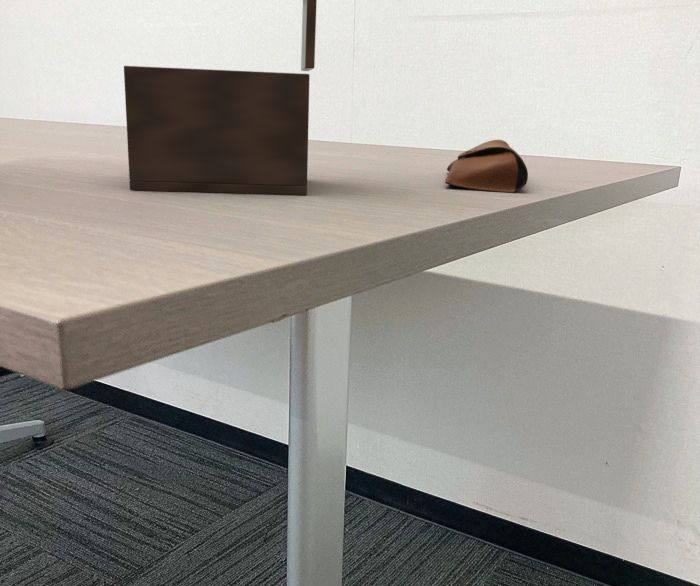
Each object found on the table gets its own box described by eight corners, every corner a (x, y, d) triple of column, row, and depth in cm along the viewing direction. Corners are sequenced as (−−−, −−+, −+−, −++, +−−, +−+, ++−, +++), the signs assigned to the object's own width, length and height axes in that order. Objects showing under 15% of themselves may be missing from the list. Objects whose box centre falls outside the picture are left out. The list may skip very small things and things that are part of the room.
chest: (129, 190, 68) (123, 65, 64) (151, 174, 80) (147, 68, 76) (306, 195, 69) (309, 73, 66) (302, 179, 81) (304, 75, 78)
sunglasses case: (442, 167, 95) (474, 120, 93) (489, 199, 96) (522, 153, 93) (443, 183, 78) (482, 126, 76) (499, 222, 79) (540, 167, 76)
